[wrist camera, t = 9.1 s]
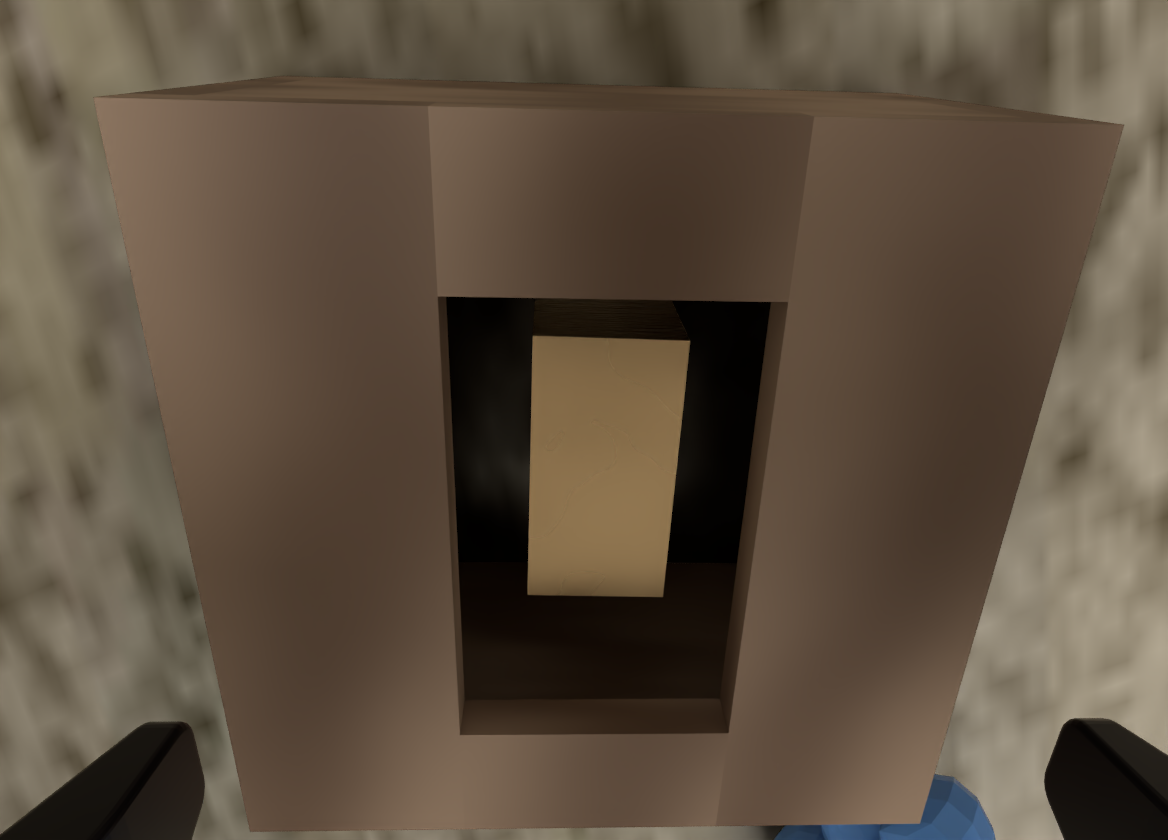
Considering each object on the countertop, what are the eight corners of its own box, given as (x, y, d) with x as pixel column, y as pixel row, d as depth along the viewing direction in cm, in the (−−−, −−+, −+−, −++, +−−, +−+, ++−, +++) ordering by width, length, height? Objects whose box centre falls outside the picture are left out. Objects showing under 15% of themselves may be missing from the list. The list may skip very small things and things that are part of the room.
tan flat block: (533, 465, 19) (527, 595, 15) (538, 259, 17) (532, 336, 13) (637, 468, 19) (662, 596, 15) (654, 263, 17) (690, 340, 13)
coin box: (343, 588, 20) (249, 831, 14) (282, 75, 15) (93, 97, 9) (809, 588, 21) (919, 824, 15) (896, 93, 16) (1123, 125, 10)
